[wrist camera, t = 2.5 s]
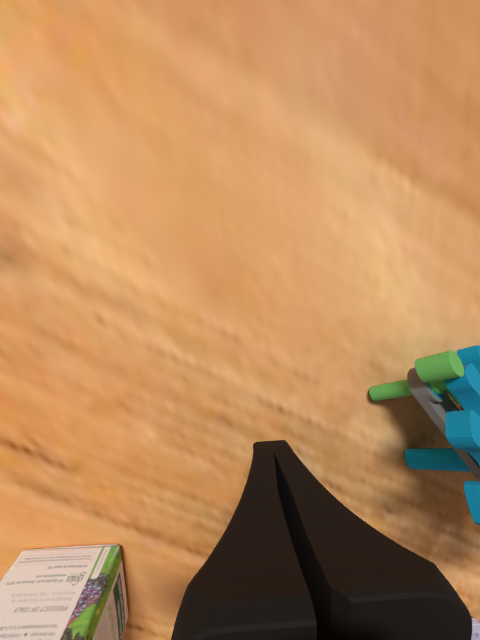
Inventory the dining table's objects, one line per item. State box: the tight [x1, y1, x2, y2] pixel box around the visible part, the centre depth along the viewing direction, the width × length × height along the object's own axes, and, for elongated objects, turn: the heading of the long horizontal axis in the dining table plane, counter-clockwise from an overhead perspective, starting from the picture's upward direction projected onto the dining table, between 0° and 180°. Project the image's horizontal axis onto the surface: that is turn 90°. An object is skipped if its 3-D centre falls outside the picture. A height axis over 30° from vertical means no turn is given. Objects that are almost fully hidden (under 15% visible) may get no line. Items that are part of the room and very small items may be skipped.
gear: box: [369, 345, 480, 525], centre depth 14 cm, size 11×6×10 cm
